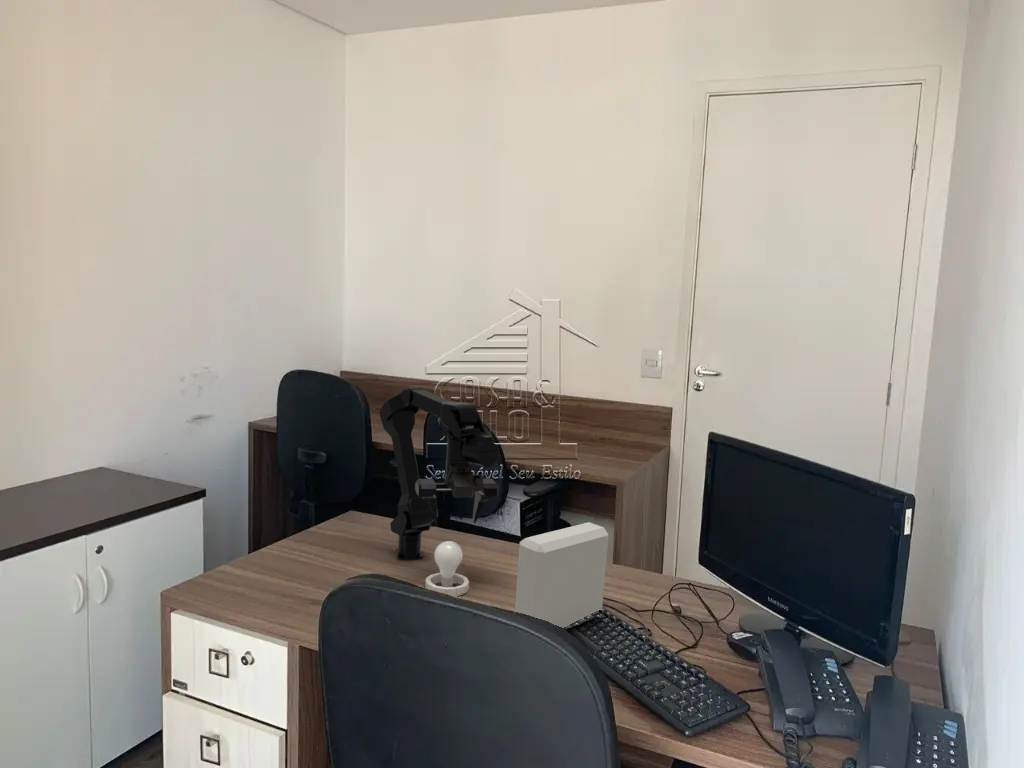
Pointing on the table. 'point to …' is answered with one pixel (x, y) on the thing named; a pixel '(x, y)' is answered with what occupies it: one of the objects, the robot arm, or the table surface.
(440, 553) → the lightbulb
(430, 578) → the socket
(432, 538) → the table surface
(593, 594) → the bevelled white case
